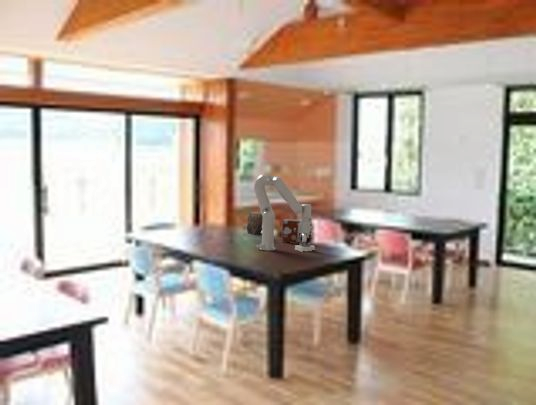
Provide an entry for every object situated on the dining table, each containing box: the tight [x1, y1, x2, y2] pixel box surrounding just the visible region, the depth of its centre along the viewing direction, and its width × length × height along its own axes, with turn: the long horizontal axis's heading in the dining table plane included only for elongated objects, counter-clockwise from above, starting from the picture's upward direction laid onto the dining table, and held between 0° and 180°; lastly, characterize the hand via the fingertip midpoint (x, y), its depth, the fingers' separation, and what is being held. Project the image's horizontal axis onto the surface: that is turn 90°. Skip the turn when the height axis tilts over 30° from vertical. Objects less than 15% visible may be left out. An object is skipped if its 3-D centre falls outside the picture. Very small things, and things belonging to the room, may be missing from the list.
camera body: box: [294, 242, 316, 253], centre depth 451 cm, size 13×9×6 cm
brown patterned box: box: [281, 218, 301, 244], centre depth 485 cm, size 9×19×20 cm, turn 78°
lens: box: [301, 233, 309, 244], centre depth 451 cm, size 5×5×9 cm
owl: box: [246, 211, 263, 236], centre depth 527 cm, size 13×13×20 cm
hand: (305, 241), depth 451 cm, fingers closed on lens, 5 cm apart
